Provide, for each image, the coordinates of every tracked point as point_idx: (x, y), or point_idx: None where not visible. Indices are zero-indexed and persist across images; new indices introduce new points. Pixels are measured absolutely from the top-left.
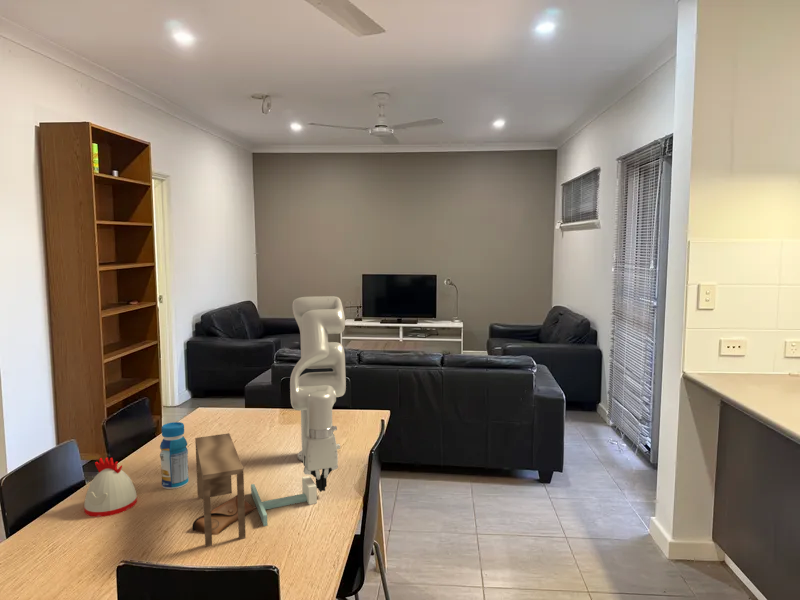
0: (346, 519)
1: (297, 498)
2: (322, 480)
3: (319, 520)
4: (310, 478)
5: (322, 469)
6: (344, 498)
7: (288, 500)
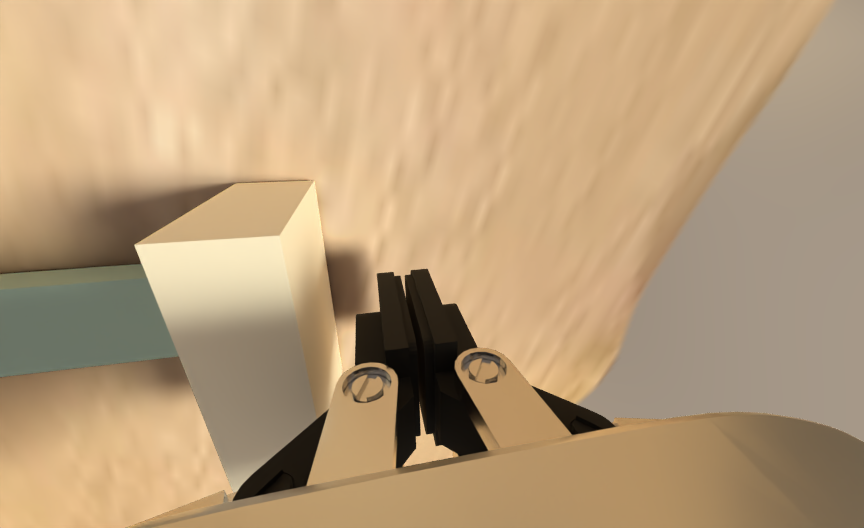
0: None
1: (171, 342)
2: (423, 415)
3: None
4: (284, 325)
5: (485, 440)
6: (528, 342)
7: (76, 357)
